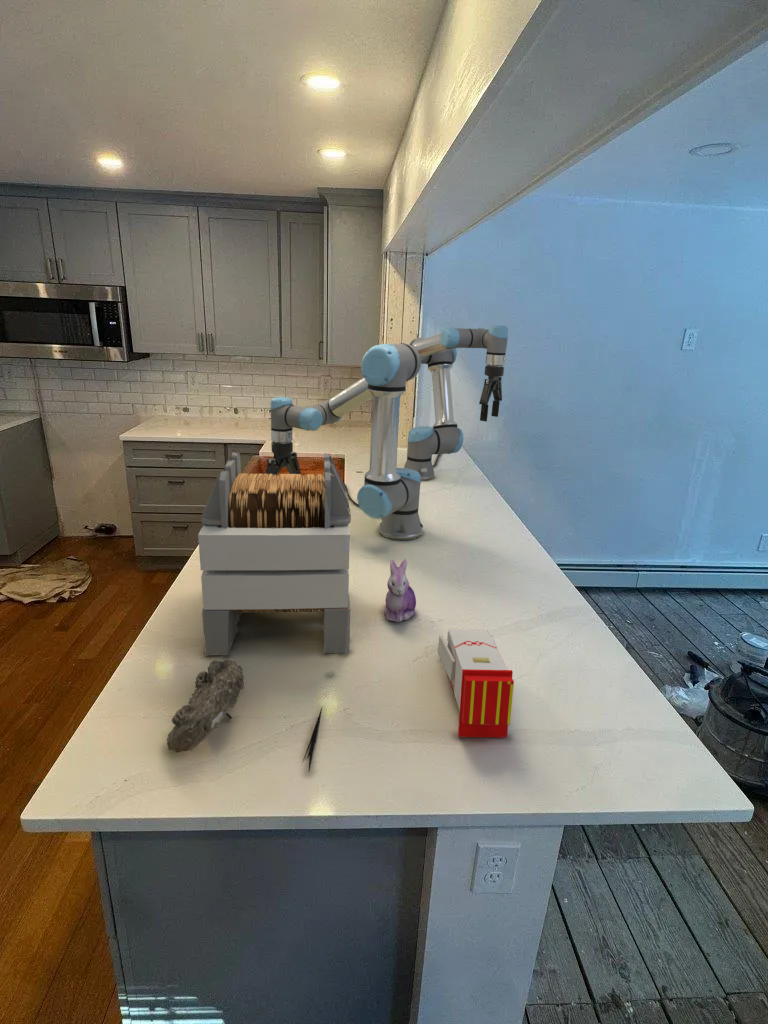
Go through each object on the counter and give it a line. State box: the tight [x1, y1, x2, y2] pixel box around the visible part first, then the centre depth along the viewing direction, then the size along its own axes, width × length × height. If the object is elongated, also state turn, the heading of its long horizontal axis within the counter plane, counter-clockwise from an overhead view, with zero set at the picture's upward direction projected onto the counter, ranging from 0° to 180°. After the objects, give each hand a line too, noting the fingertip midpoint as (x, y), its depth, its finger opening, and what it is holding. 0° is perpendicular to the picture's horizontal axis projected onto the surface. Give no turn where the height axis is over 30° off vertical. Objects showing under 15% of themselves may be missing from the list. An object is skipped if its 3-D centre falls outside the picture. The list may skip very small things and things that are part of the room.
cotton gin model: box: [197, 451, 352, 657], centre depth 136 cm, size 34×33×41 cm
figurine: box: [384, 558, 417, 623], centre depth 145 cm, size 9×10×15 cm
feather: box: [301, 673, 332, 771], centre depth 108 cm, size 2×28×2 cm
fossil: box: [166, 658, 245, 754], centre depth 106 cm, size 22×10×15 cm
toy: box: [437, 628, 515, 738], centre depth 117 cm, size 12×13×30 cm
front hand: (283, 499), depth 210 cm, fingers open, 11 cm apart
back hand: (489, 418), depth 233 cm, fingers open, 13 cm apart
